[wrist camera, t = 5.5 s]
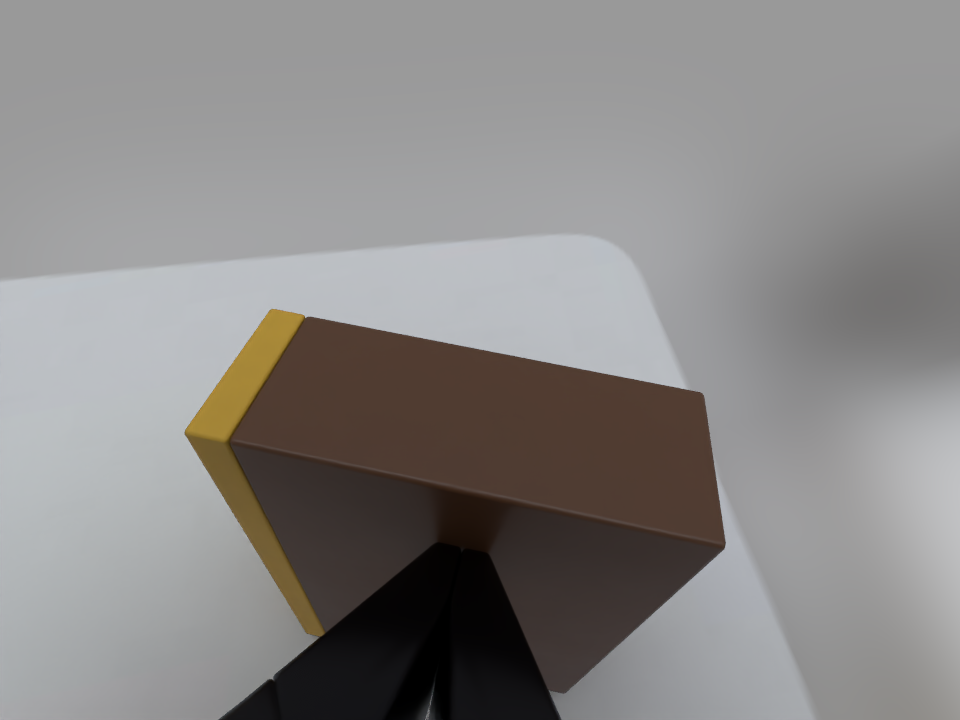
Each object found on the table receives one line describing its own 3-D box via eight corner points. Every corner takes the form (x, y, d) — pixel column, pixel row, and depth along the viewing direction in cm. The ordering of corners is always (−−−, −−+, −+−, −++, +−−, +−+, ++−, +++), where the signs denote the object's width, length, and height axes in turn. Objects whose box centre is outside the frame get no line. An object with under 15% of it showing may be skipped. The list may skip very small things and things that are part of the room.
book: (565, 694, 13) (729, 548, 6) (305, 633, 14) (181, 432, 7) (571, 595, 15) (705, 391, 8) (340, 543, 15) (269, 306, 8)
